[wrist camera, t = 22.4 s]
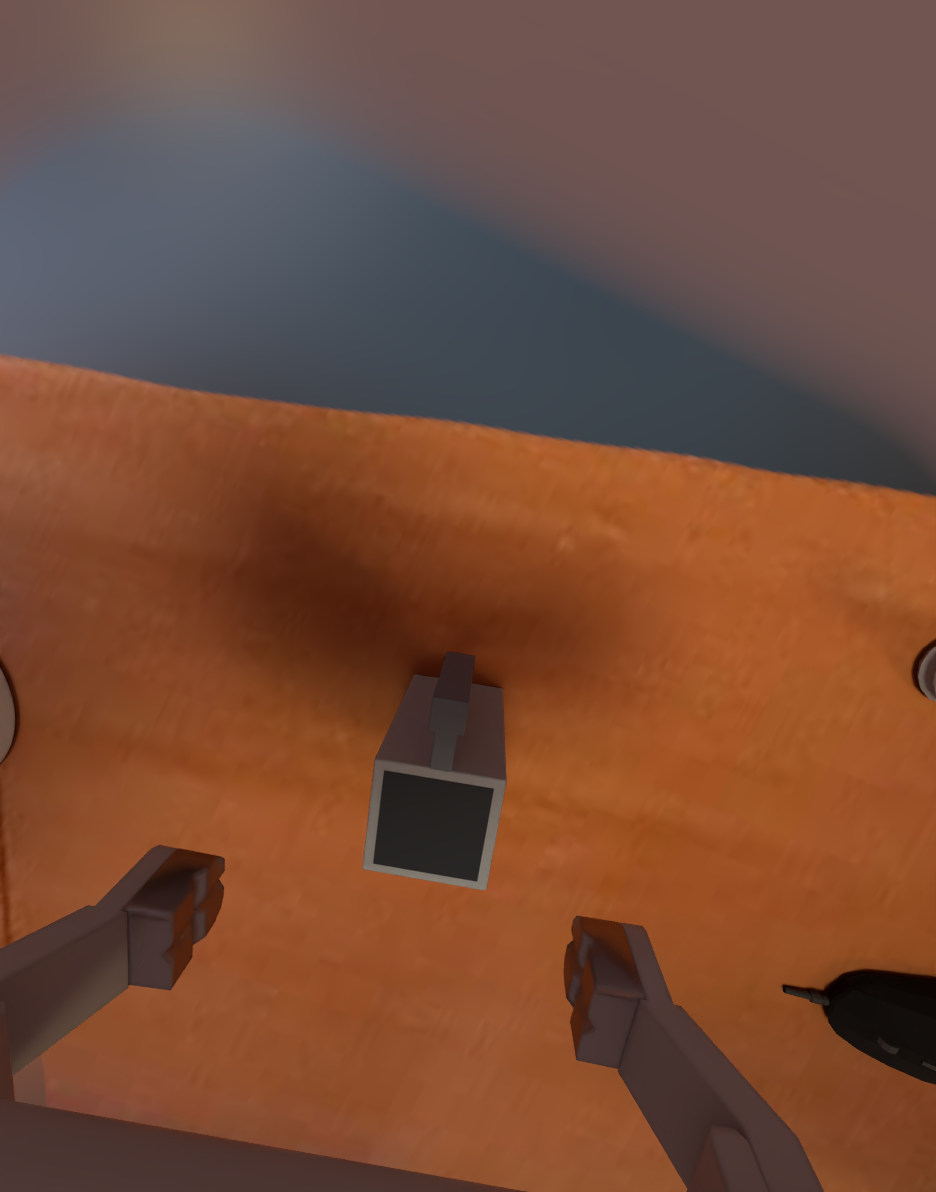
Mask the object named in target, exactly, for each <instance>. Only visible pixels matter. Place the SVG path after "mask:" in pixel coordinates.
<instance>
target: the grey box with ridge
mask: <svg viewBox="0 0 936 1192" xmlns="http://www.w3.org/2000/svg"><path fill="white" fill-rule="evenodd" d="M474 661H475V656H474V655H468V654H462V653H456V652H449V651H447V653H446V656H445V660H444V663H443V666H442V669H441V672H440V675H439V678H435V677H429V676H422V675H416V674H414V676H413V678H412V680H411V682H410V684H409V686H408V689H407V691H406V693H405V695H404V697H403V699H402V702H401V704H400V706H399V708H398V710H397V712H396V714H395V717H394V719H393V721H392V723H391V725H390V727H389V730H388V732H387V734H386V736H385V738H384V740H383V743H382V745H381V747H380V749H379V751H378V753H377V755H376V758H375V761H374V770H373V779H372V788H371V797H370V806H369V814H368V823H367V832H366V841H365V850H364V859H363V869H365V870H371V871H376V872H382V873H388V874H394V875H399V876H405V877H411V878H417V879H422V880H428V881H434V882H440V883H445V884H451V885H457V886H463V887H468V888H474V889H480V890H486V888H487V883H488V878H489V872H490V867H491V862H492V856H493V851H494V846H495V840H496V835H497V830H498V824H499V819H500V814H501V808H502V803H503V798H504V792H505V787H506V782H507V781H506V756H505V732H504V707H503V689H502V688H497V687H490V686H484V685H478V684H472V677H473V669H474Z"/></svg>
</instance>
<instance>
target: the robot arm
mask: <svg viewBox="0 0 936 1192" xmlns="http://www.w3.org/2000/svg"><path fill="white" fill-rule="evenodd" d="M14 729H15V710H14V704H13V699H12V695H11V691H10V688H9V685H8V683H7V680H6V678H5V676H4V674H3V672H2V670H1V668H0V763H1V762H2V760H3V759H4V758H5V756H6V754H7V752H8V751H9V748H10V746H11V743H12V740H13V735H14ZM224 871H225V859H224V858H223V857H221V856H216V855H210V854H205V853H200V852H195V851H190V850H185V849H178V848H173V847H168V846H163V845H158V846H156V847H154V848H152V849H150V850H149V851H148V852H147V853H146V854H145V855H144V856H143V857H142V858H141V860H140V861H139V862H138V863H137V864H136V865H135V866H134V867H133V868H132V869H131V870H130V871H129V872H128V873H127V874H126V875H125V876H124V877H123V878H122V879H121V880H120V881H119V882H118V883H117V884H116V885H115V886H114V887H113V888H112V889H111V890H110V891H109V892H108V893H107V894H106V895H105V896H104V897H103V898H102V899H101V900H100V901H99V902H98V904H97V905H96V906H89V905H88V906H86V907H84V908H82V909H80V910H78V911H75V912H73V913H71V914H69V915H67V916H65V917H63V918H61V919H59V920H57V921H55V922H53V923H51V924H49V925H47V926H45V927H43V928H41V929H39V930H37V931H35V932H33V933H31V934H29V935H27V936H25V937H23V938H21V939H19V940H17V941H15V942H13V943H11V944H9V945H7V946H5V947H3V948H1V949H0V1192H526V1191H520V1190H514V1189H508V1188H503V1187H497V1186H491V1185H486V1184H480V1183H474V1182H469V1181H463V1180H457V1179H452V1178H446V1177H440V1176H435V1175H429V1174H423V1173H418V1172H412V1171H406V1170H401V1169H395V1168H390V1167H384V1166H378V1165H373V1164H367V1163H361V1162H356V1161H350V1160H345V1159H339V1158H333V1157H328V1156H322V1155H316V1154H311V1153H305V1152H300V1151H294V1150H288V1149H283V1148H277V1147H271V1146H266V1145H260V1144H254V1143H249V1142H243V1141H237V1140H232V1139H226V1138H220V1137H215V1136H209V1135H203V1134H198V1133H192V1132H186V1131H181V1130H175V1129H169V1128H164V1127H158V1126H152V1125H147V1124H141V1123H135V1122H130V1121H124V1120H118V1119H113V1118H107V1117H101V1116H96V1115H90V1114H84V1113H79V1112H73V1111H67V1110H62V1109H56V1108H50V1107H44V1106H39V1105H33V1104H28V1103H21V1102H16V1101H15V1096H14V1085H13V1075H14V1074H16V1073H17V1072H18V1071H19V1070H21V1069H22V1068H23V1067H25V1066H26V1065H28V1064H29V1063H30V1062H31V1061H33V1060H34V1059H35V1058H37V1057H38V1056H39V1055H41V1054H42V1053H43V1052H45V1051H46V1050H47V1049H48V1048H50V1047H51V1046H52V1045H54V1044H55V1043H56V1042H58V1041H59V1040H60V1039H62V1038H63V1037H64V1036H66V1035H67V1034H68V1033H69V1032H71V1031H72V1030H73V1029H75V1028H76V1027H77V1026H79V1025H80V1024H81V1023H83V1022H84V1021H85V1020H86V1019H88V1018H89V1017H90V1016H92V1015H93V1014H94V1013H96V1012H97V1011H98V1010H100V1009H101V1008H102V1007H104V1006H105V1005H106V1004H107V1003H109V1002H110V1001H111V1000H113V999H114V998H115V997H117V996H118V995H119V994H121V993H122V992H123V991H125V990H126V989H127V988H128V985H135V986H142V987H150V988H157V989H165V990H171V989H172V987H173V986H174V984H175V983H176V981H177V980H178V978H179V977H180V975H181V974H182V972H183V971H184V969H185V968H186V966H187V965H188V963H189V962H190V960H191V959H192V953H193V945H194V944H195V943H197V942H198V941H200V940H201V939H203V938H204V937H206V935H207V934H208V932H209V931H210V929H211V927H212V926H213V924H214V922H215V920H216V918H217V915H218V913H219V911H220V908H221V905H222V901H223V896H224V886H223V885H222V883H221V882H220V880H219V878H220V877H221V875H222V874H223V872H224ZM571 931H572V936H573V941H571V942H570V943H569V944H568V945H567V948H566V953H565V959H564V984H565V991H566V998H567V999H568V1001H569V1002H570V1004H571V1005H572V1006H573V1012H572V1016H571V1020H570V1024H571V1030H572V1036H573V1042H574V1048H575V1055H576V1060H578V1061H583V1062H588V1063H593V1064H597V1065H602V1066H607V1067H612V1068H617V1069H619V1070H618V1072H619V1074H620V1076H621V1077H622V1079H623V1081H624V1082H625V1084H626V1086H627V1087H628V1089H629V1091H630V1093H631V1094H632V1096H633V1098H634V1099H635V1101H636V1103H637V1104H638V1106H639V1108H640V1109H641V1111H642V1113H643V1115H644V1116H645V1118H646V1120H647V1121H648V1123H649V1125H650V1126H651V1128H652V1130H653V1131H654V1133H655V1135H656V1137H657V1138H658V1140H659V1142H660V1143H661V1145H662V1147H663V1148H664V1150H665V1152H666V1153H667V1155H668V1157H669V1159H670V1160H671V1162H672V1164H673V1165H674V1167H675V1169H676V1170H677V1172H678V1174H679V1175H680V1177H681V1179H682V1181H683V1182H684V1184H685V1186H686V1187H687V1189H688V1190H687V1192H824V1190H823V1188H822V1186H821V1184H820V1182H819V1180H818V1178H817V1176H816V1174H815V1172H814V1170H813V1168H812V1166H811V1164H810V1162H809V1159H808V1157H807V1155H806V1153H805V1151H804V1149H803V1147H802V1145H801V1143H800V1141H799V1139H798V1137H797V1136H796V1135H795V1134H794V1133H793V1132H792V1131H791V1129H790V1128H789V1127H788V1126H787V1125H786V1124H785V1123H784V1122H783V1120H782V1119H781V1118H780V1117H779V1116H778V1115H777V1114H776V1113H775V1111H774V1110H773V1109H772V1108H771V1107H770V1106H769V1105H768V1104H767V1102H766V1101H765V1100H764V1099H763V1098H762V1097H761V1096H760V1095H759V1093H758V1092H757V1091H756V1090H755V1089H754V1088H753V1087H752V1086H751V1084H750V1083H749V1082H748V1081H747V1080H746V1079H745V1078H744V1077H743V1075H742V1074H741V1073H740V1072H739V1071H738V1070H737V1069H736V1068H735V1066H734V1065H733V1064H732V1063H731V1062H730V1061H729V1060H728V1059H727V1057H726V1056H725V1055H724V1054H723V1053H722V1052H721V1051H720V1050H719V1048H718V1047H717V1046H716V1045H715V1044H714V1043H713V1042H712V1041H711V1039H710V1038H709V1037H708V1036H707V1035H706V1034H705V1033H704V1032H703V1031H702V1029H701V1028H700V1027H699V1026H698V1025H697V1024H696V1023H695V1022H694V1020H693V1019H692V1018H691V1017H690V1016H689V1015H688V1014H687V1013H686V1011H685V1010H684V1009H683V1008H682V1007H681V1006H678V1005H674V1004H673V1002H672V999H671V996H670V993H669V991H668V988H667V985H666V983H665V980H664V977H663V975H662V972H661V969H660V967H659V964H658V961H657V959H656V956H655V953H654V951H653V948H652V945H651V942H650V940H649V937H648V934H647V932H646V930H645V929H644V927H643V926H639V925H633V924H627V923H618V922H615V921H608V920H602V919H595V918H589V917H582V916H576V917H575V918H574V920H573V924H572V928H571Z"/></svg>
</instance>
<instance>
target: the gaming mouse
mask: <svg viewBox="0 0 936 1192" xmlns="http://www.w3.org/2000/svg"><path fill="white" fill-rule="evenodd" d="M783 992H784V993H786V994H790V995H794V996H798V997H802V998H806V999H809V1001H810V1002H813V1003H816V1004H823V1005H826V1011H827V1017H828V1022H829V1024H830V1025H831V1027H832V1028H833V1030H834V1031H835V1032H836V1034H837V1035H839V1036H840V1037H842V1038H843V1039H844V1040H846V1041H847V1042H848V1043H850V1044H851V1045H852V1046H854V1047H855V1048H856V1049H858V1050H860V1051H862V1052H864V1053H865V1054H867V1055H869V1056H871V1057H873V1058H875V1059H876V1060H878V1061H880V1062H882V1063H884V1064H886V1065H888V1066H890V1067H892V1068H894V1069H897V1070H899V1071H901V1072H904V1073H906V1074H908V1075H910V1076H913V1077H915V1078H917V1079H920V1080H922V1081H925V1082H928V1083H932V1084H936V981H929V980H919V979H911V978H904V977H896V976H889V975H878V974H867V973H864V974H860V975H856V976H852V977H848V978H847V979H846V980H844V981H843V982H842V983H841V984H840V985H839V986H838V987H836V988H835V989H834V990H833V991H832V992H831V994H830V996H829V998H828V997H827V996H826V995H822V994H821V995H820V994H819V993H816V992H812V991H808V992H804V991H800V990H797V989H793V988H789V987H785V986H783Z"/></svg>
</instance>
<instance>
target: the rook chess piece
mask: <svg viewBox="0 0 936 1192" xmlns="http://www.w3.org/2000/svg"><path fill="white" fill-rule="evenodd" d="M917 677H918V681H919V685H920V688H921V690H922V691H923V692H924V693H925V695H926V696H927V697H928V698H929V699H931V700H933V701H935V702H936V645H935V646H933V647H932V648H930V649H929V650H928V651H926V653H925V654H924V656H923V657H922V658H921V660H920V661H919V665H918V669H917Z"/></svg>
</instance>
